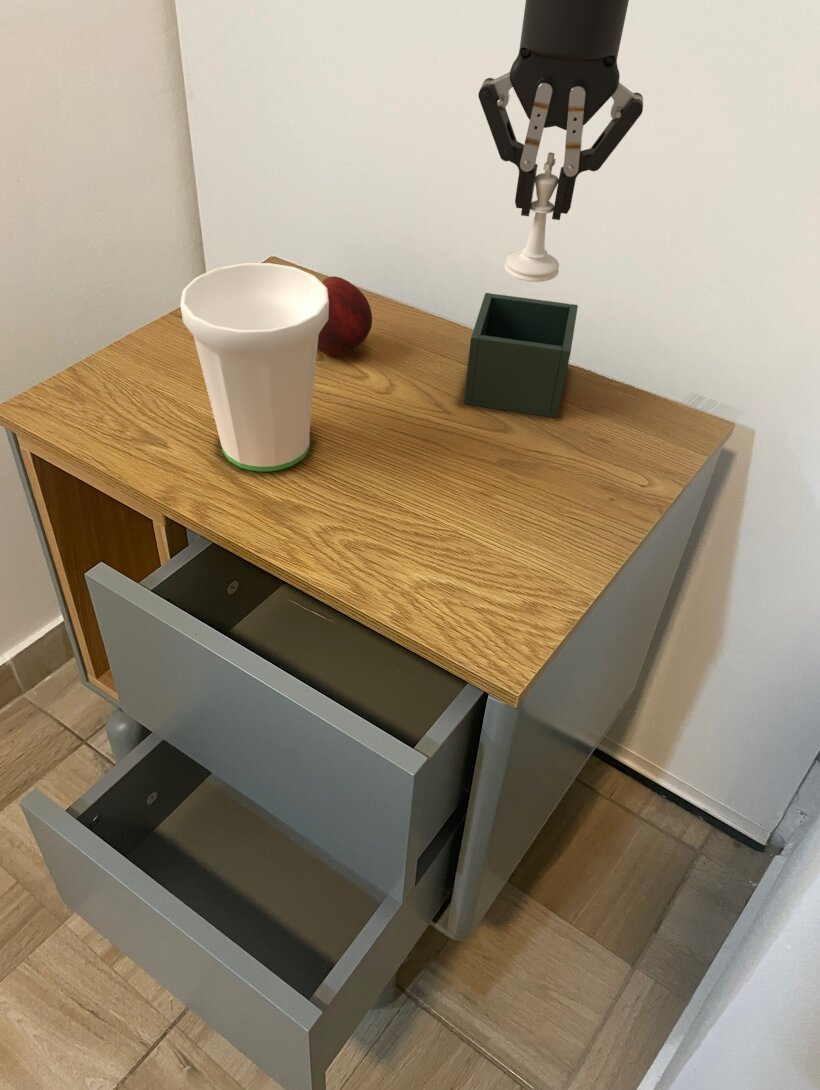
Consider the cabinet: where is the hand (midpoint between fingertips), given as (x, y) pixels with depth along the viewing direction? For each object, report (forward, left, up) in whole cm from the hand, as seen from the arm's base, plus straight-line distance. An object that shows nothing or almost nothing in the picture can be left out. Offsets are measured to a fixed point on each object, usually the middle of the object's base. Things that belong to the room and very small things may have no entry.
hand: (541, 213), depth 77 cm
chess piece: (0, 0, -5) cm, 5 cm away
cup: (+22, +14, -20) cm, 32 cm away
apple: (+20, -5, -20) cm, 28 cm away
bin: (0, -3, -19) cm, 20 cm away
